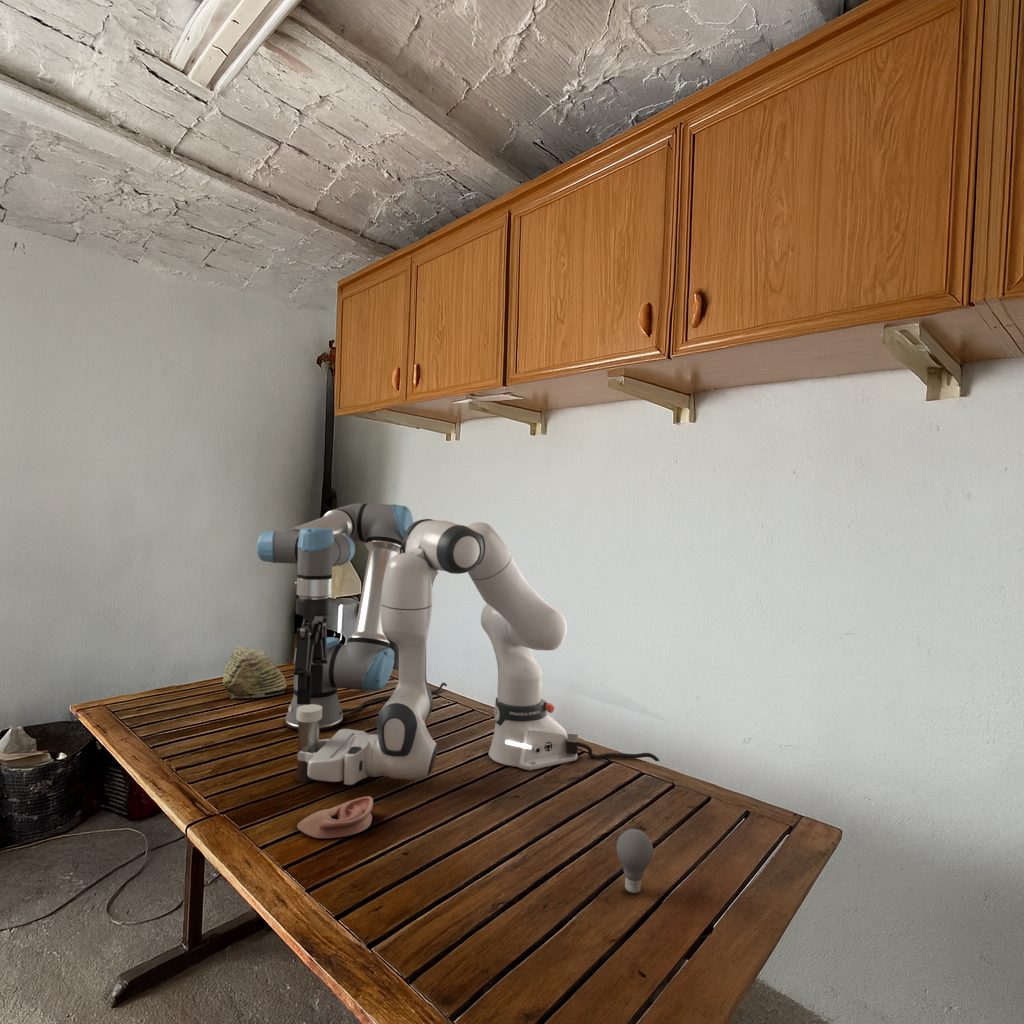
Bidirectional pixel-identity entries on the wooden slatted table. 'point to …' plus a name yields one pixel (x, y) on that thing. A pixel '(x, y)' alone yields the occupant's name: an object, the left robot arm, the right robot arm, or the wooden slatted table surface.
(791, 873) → the wooden slatted table surface
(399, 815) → the wooden slatted table surface
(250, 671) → the fossil
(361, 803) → the anatomical model
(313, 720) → the lid
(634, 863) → the light bulb
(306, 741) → the metal cylinder
